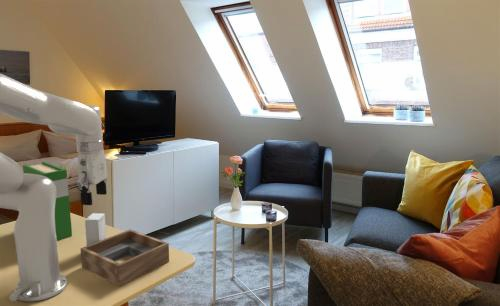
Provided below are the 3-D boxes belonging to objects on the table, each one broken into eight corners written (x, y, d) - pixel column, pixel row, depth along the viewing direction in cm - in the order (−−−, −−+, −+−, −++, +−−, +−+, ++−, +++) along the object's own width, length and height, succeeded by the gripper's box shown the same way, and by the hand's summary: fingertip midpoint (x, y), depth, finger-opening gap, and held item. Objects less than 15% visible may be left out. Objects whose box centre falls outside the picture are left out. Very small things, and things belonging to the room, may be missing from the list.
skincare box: (100, 255, 129) (97, 220, 126) (87, 255, 129) (84, 219, 126) (107, 247, 135) (105, 213, 132) (94, 247, 135) (92, 212, 132)
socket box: (169, 261, 125) (168, 243, 124) (120, 286, 111) (118, 266, 110) (131, 246, 136) (130, 229, 134) (81, 267, 121) (80, 248, 120)
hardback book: (29, 228, 149) (22, 164, 144) (50, 223, 155) (44, 161, 150) (50, 242, 138) (43, 173, 133) (72, 236, 143) (66, 169, 138)
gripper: (88, 152, 116) (93, 209, 120) (113, 140, 133) (117, 191, 137) (62, 152, 117) (68, 208, 120) (91, 140, 133) (96, 190, 137)
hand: (94, 199), depth 128 cm, fingers open, 9 cm apart
